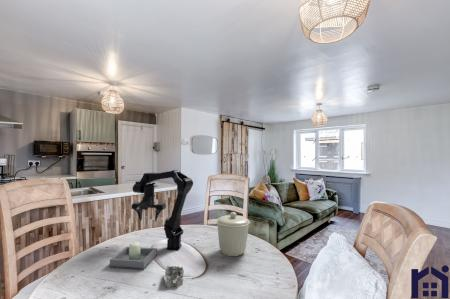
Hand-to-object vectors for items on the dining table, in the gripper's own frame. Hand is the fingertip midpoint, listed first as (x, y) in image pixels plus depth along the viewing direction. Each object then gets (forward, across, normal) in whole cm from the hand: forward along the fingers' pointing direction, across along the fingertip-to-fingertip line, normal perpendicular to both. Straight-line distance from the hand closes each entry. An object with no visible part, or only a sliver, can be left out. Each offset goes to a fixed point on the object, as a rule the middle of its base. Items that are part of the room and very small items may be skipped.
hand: (148, 220), depth 128 cm
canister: (+12, +50, -7) cm, 52 cm away
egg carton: (+12, +28, -36) cm, 47 cm away
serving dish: (+12, +4, -23) cm, 26 cm away
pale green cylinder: (+11, +4, -23) cm, 26 cm away
